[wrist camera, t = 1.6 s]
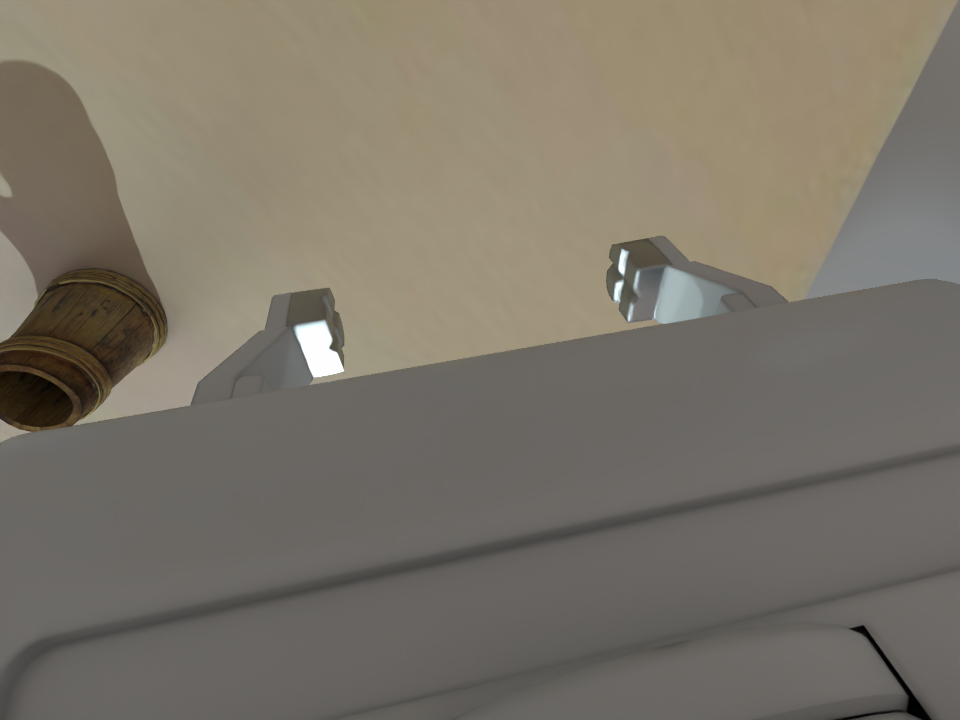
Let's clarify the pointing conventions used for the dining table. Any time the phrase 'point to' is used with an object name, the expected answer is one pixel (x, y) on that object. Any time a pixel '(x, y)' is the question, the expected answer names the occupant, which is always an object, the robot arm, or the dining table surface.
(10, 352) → the wooden mug
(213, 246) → the dining table surface
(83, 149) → the dining table surface
